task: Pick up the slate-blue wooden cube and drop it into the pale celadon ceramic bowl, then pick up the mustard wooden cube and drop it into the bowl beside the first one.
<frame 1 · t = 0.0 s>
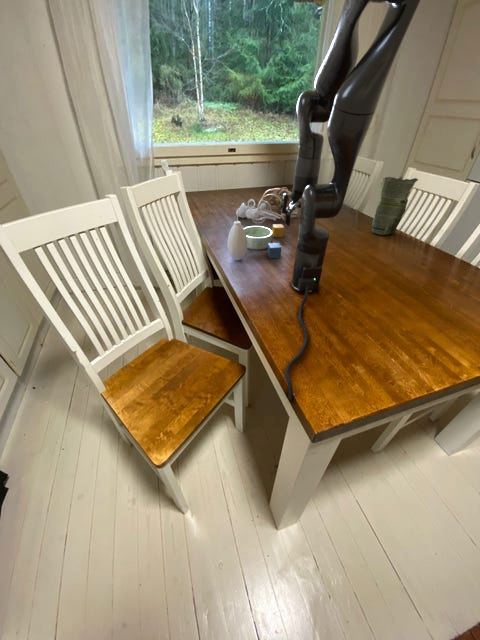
hand: (299, 224, 96), 17 cm above the table, tool pointing down, fingers open, 8 cm apart
blue cube: (273, 255, 115), on the table
sauce bottle: (237, 259, 112), on the table
mustard cube: (277, 235, 132), on the table
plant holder: (267, 217, 152), on the table
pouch: (381, 232, 136), on the table
bowl: (256, 243, 124), on the table
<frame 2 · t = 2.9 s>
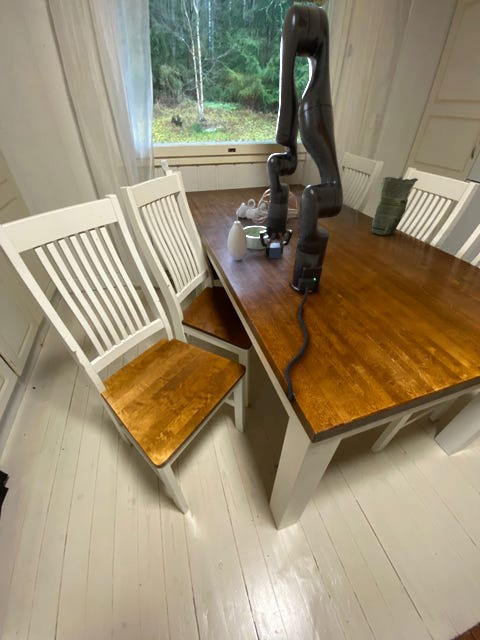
hand: (273, 254, 115), 0 cm above the table, tool pointing down, fingers closed on blue cube, 4 cm apart
blue cube: (273, 255, 115), on the table, touching gripper
everything else where it was.
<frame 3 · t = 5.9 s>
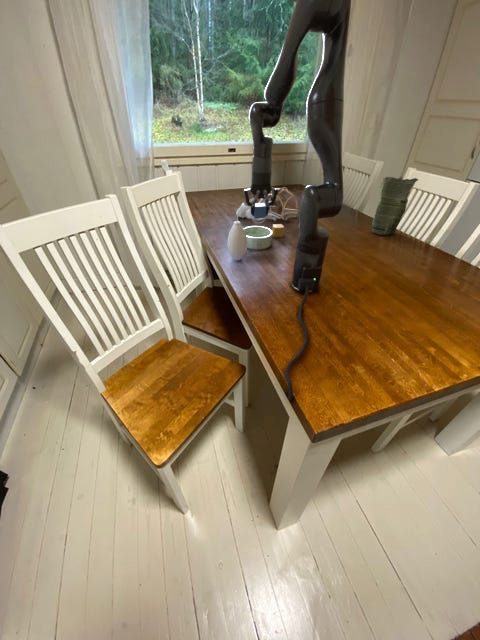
hand: (259, 215, 114), 14 cm above the table, tool pointing down, fingers closed on blue cube, 4 cm apart
blue cube: (259, 216, 114), point 13 cm above the table, touching gripper
everything else where it was.
when the fingers open (3 cm above the table, at t = 8.7 s): blue cube drops 2 cm, resting on bowl.
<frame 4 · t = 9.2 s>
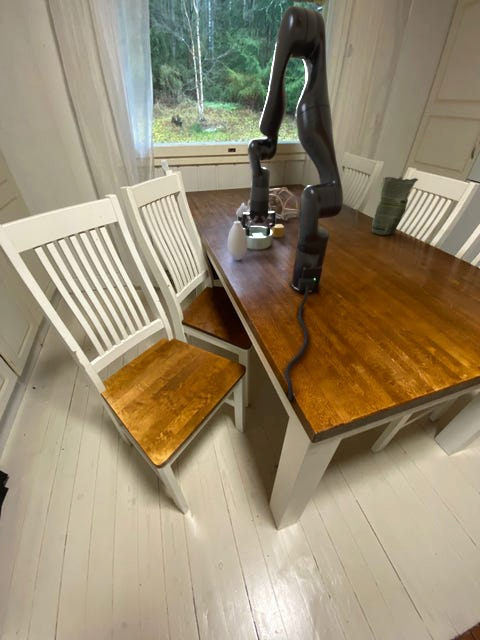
hand: (257, 236, 120), 4 cm above the table, tool pointing down, fingers open, 8 cm apart
blue cube: (257, 244, 122), resting on bowl
everything else where it was.
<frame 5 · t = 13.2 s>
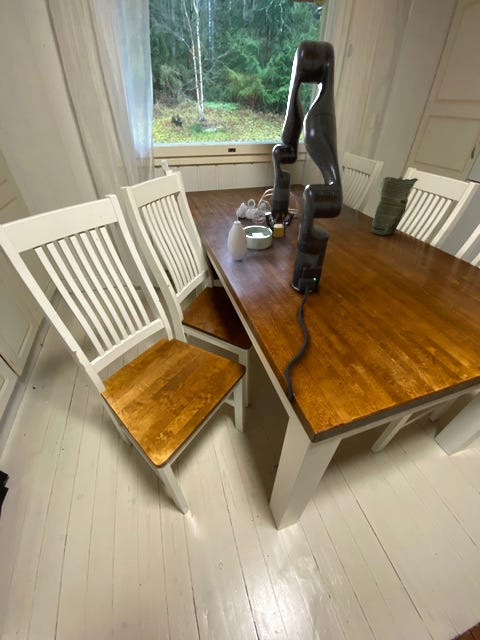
hand: (277, 234, 132), 0 cm above the table, tool pointing down, fingers closed on mustard cube, 4 cm apart
mustard cube: (277, 235, 132), on the table, touching gripper
everything else where it was.
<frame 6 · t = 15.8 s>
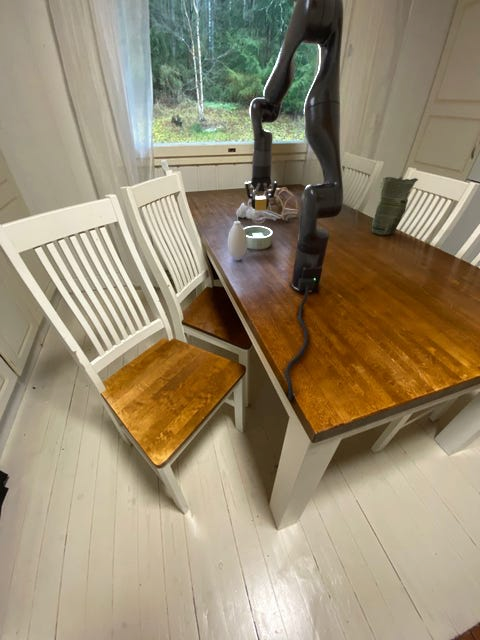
hand: (259, 207, 118), 15 cm above the table, tool pointing down, fingers closed on mustard cube, 4 cm apart
mustard cube: (259, 208, 118), point 14 cm above the table, touching gripper
everything else where it was.
when the fingers open (3 cm above the table, at t = 18.9 s): mustard cube drops 2 cm, resting on bowl.
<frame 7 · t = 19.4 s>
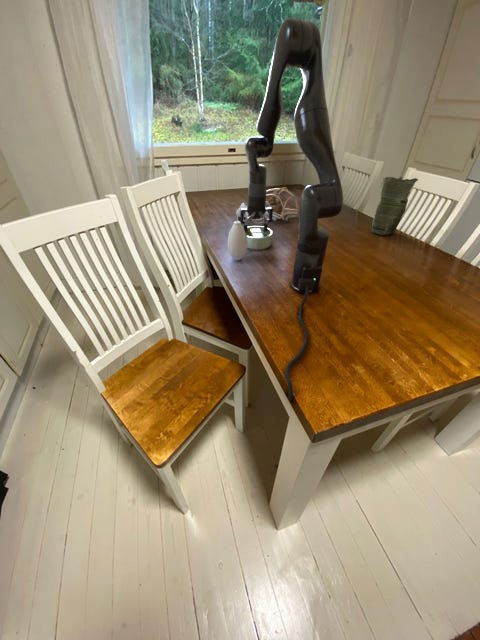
hand: (255, 231, 124), 4 cm above the table, tool pointing down, fingers open, 8 cm apart
mustard cube: (255, 240, 126), resting on bowl
everything else where it was.
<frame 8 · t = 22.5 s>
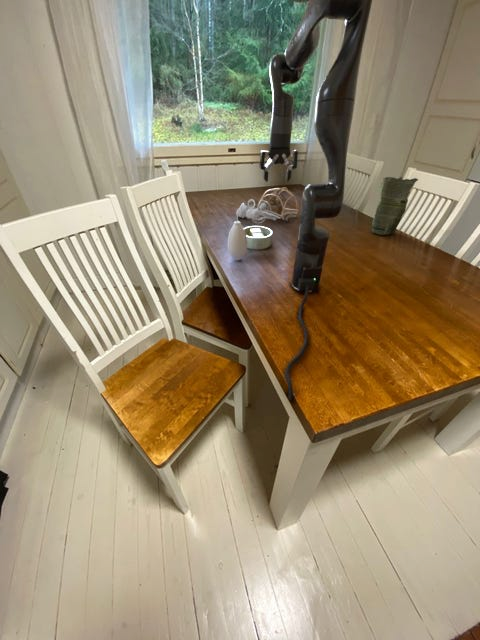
hand: (276, 181, 108), 26 cm above the table, tool pointing down, fingers open, 8 cm apart
nothing on the table moved.
at the end: blue cube inside the target area in the bowl (2.7 cm from its centre), point 0.5 cm above the bowl's base; mustard cube inside the target area in the bowl (2.7 cm from its centre), point 0.5 cm above the bowl's base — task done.
